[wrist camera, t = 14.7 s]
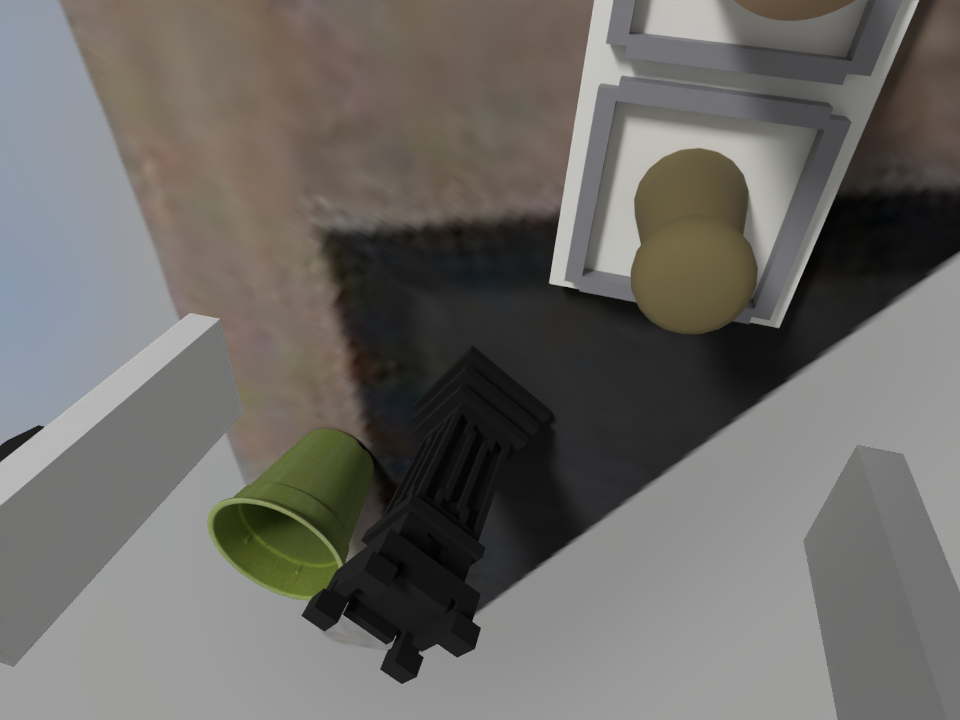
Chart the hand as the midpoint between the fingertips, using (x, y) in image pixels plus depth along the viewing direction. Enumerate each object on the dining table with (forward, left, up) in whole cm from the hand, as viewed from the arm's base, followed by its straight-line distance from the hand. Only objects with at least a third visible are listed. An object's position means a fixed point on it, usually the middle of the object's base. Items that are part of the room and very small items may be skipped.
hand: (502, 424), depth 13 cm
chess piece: (+23, -6, -27) cm, 36 cm away
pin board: (-3, +5, -27) cm, 28 cm away
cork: (+3, +5, -25) cm, 26 cm away
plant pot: (+33, -19, -27) cm, 47 cm away
